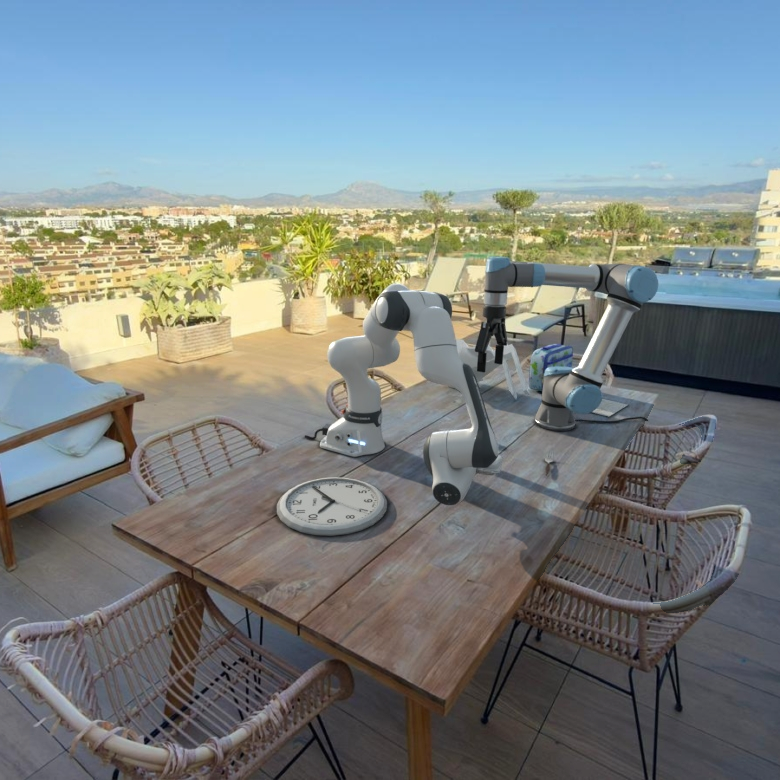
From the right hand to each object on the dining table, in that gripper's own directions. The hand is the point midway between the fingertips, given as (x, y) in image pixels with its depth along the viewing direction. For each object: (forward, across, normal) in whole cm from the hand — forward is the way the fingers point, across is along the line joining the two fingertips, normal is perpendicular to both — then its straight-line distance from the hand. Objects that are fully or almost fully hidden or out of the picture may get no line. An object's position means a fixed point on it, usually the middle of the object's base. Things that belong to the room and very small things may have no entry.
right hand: (489, 367), depth 178 cm
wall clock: (+28, +66, -13) cm, 73 cm away
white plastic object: (+28, -53, -28) cm, 66 cm away
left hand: (+17, +30, +10) cm, 36 cm away
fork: (+28, +6, +25) cm, 38 cm away
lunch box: (+28, -80, -5) cm, 84 cm away
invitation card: (+28, -67, +23) cm, 76 cm away
